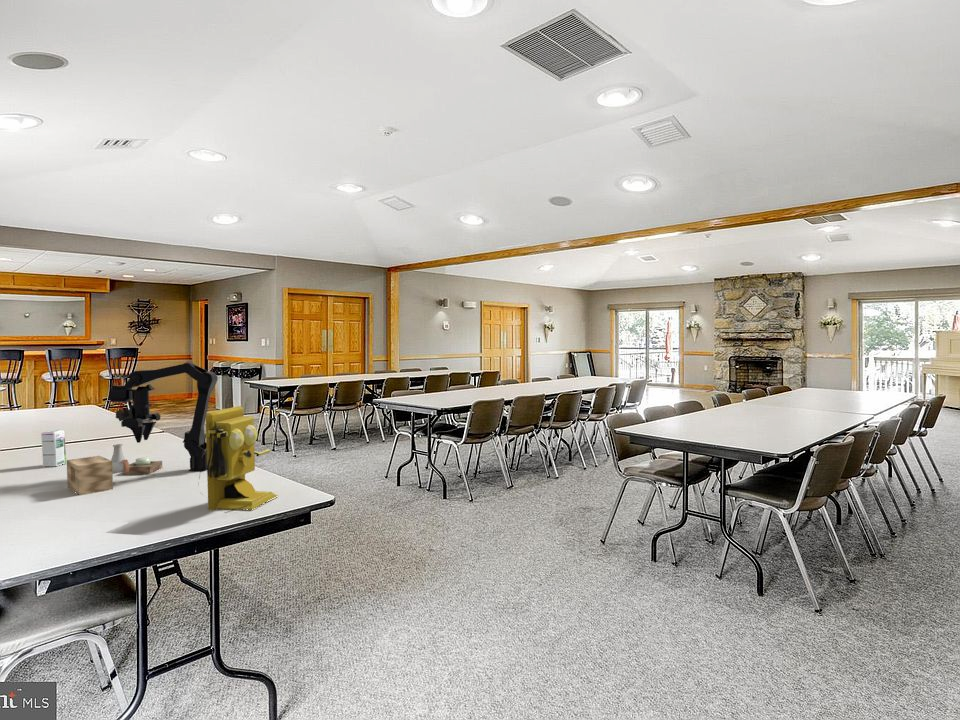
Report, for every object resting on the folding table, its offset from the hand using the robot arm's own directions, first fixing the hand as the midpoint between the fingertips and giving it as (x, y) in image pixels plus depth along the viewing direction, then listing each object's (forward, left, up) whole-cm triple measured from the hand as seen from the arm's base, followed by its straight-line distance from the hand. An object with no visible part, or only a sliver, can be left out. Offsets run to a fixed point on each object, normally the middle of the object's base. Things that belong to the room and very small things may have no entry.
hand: (142, 441), depth 229 cm
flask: (+13, -3, -12) cm, 18 cm away
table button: (0, 0, -10) cm, 10 cm away
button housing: (0, 0, -12) cm, 12 cm away
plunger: (-4, +20, -8) cm, 22 cm away
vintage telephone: (-63, +39, -12) cm, 75 cm away
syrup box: (+45, -7, -12) cm, 47 cm away
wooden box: (+1, +26, -12) cm, 29 cm away
